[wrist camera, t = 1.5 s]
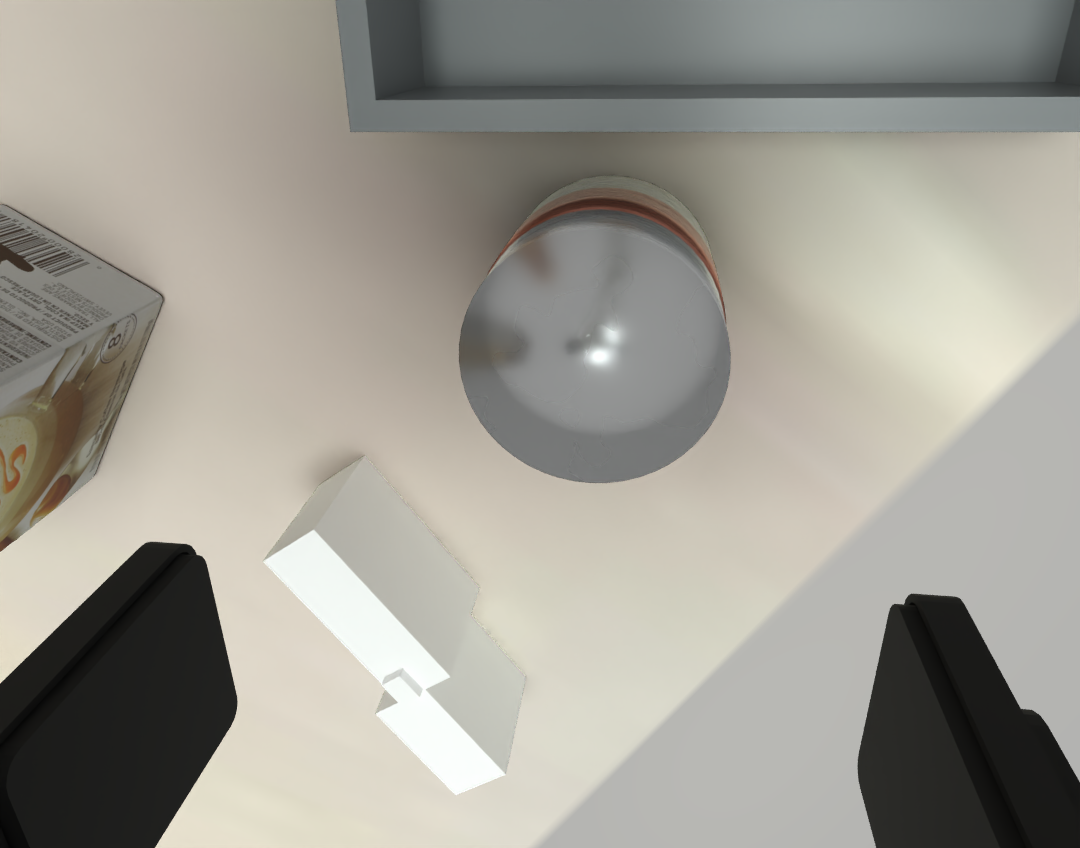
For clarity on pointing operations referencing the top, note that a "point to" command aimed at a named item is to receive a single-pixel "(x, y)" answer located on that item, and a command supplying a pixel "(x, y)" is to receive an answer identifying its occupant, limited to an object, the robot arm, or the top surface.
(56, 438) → the coffee box
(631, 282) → the can
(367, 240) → the top surface
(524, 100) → the crate
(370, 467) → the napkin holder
